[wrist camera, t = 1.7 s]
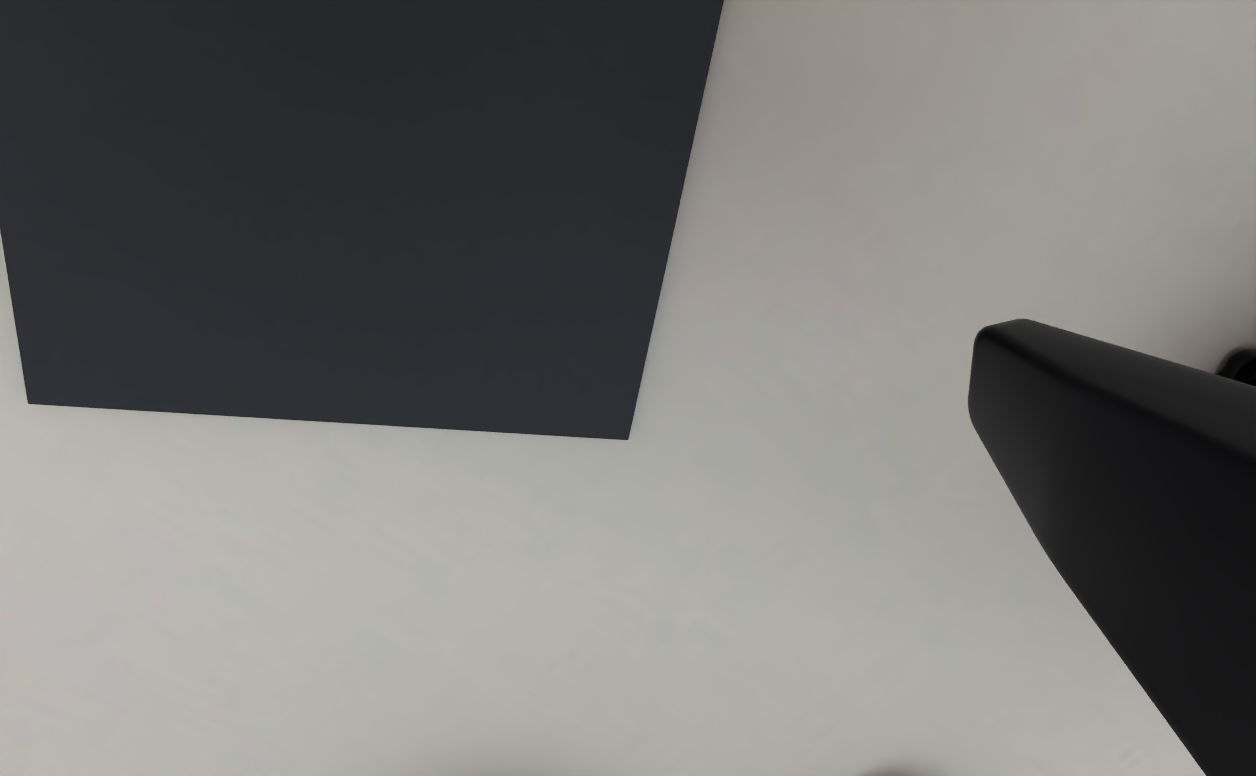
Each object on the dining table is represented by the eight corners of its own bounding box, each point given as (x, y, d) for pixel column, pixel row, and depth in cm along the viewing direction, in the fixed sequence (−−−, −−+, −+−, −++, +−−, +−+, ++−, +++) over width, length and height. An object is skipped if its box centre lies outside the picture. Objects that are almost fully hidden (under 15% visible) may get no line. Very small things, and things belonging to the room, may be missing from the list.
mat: (733, -63, 19) (737, -61, 19) (626, 434, 25) (628, 440, 24) (-63, -216, 16) (-72, -216, 15) (32, 397, 21) (27, 404, 21)
